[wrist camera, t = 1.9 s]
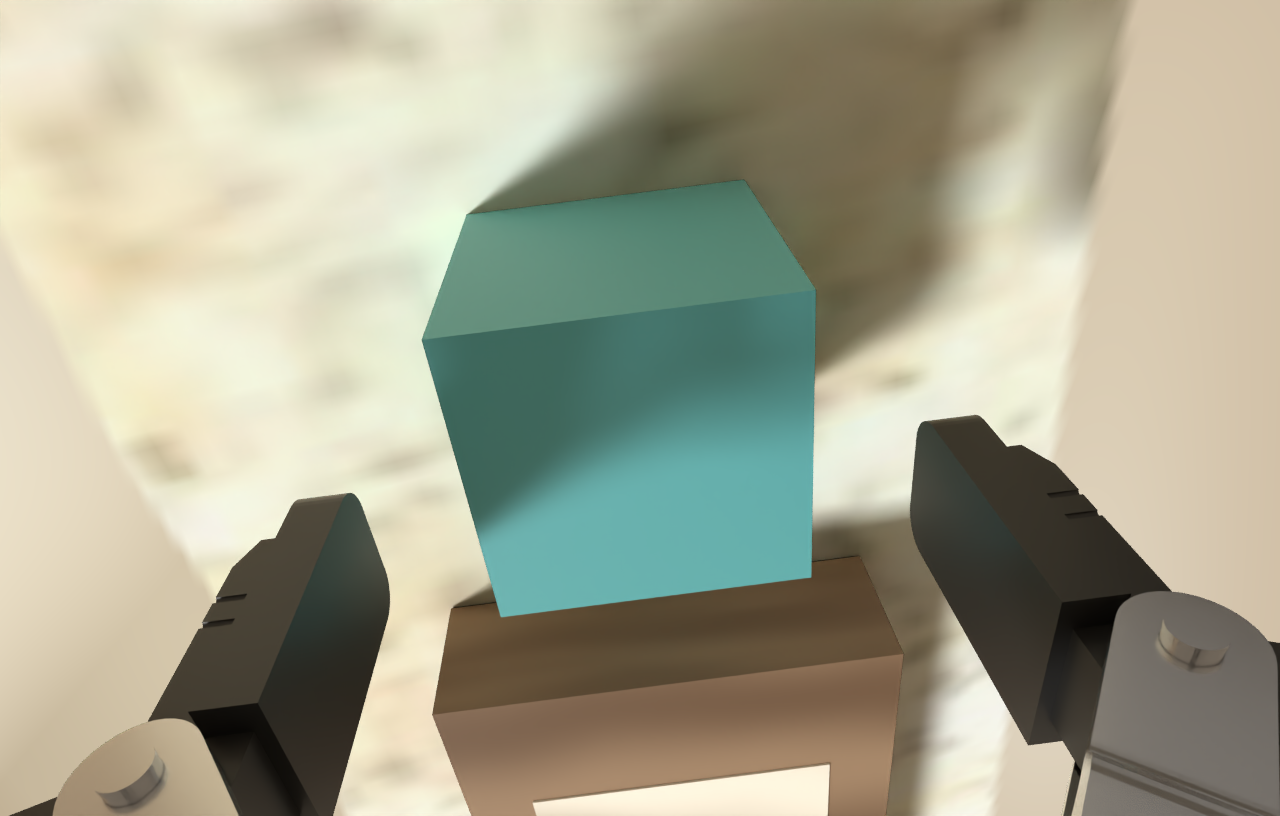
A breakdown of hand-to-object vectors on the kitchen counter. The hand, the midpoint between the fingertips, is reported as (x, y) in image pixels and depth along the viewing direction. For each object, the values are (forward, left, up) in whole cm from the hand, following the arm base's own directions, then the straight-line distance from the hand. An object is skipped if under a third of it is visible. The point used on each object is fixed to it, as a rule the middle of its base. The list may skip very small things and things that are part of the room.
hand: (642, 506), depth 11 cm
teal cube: (-1, 0, -5) cm, 5 cm away
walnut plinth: (+14, 0, -5) cm, 14 cm away
